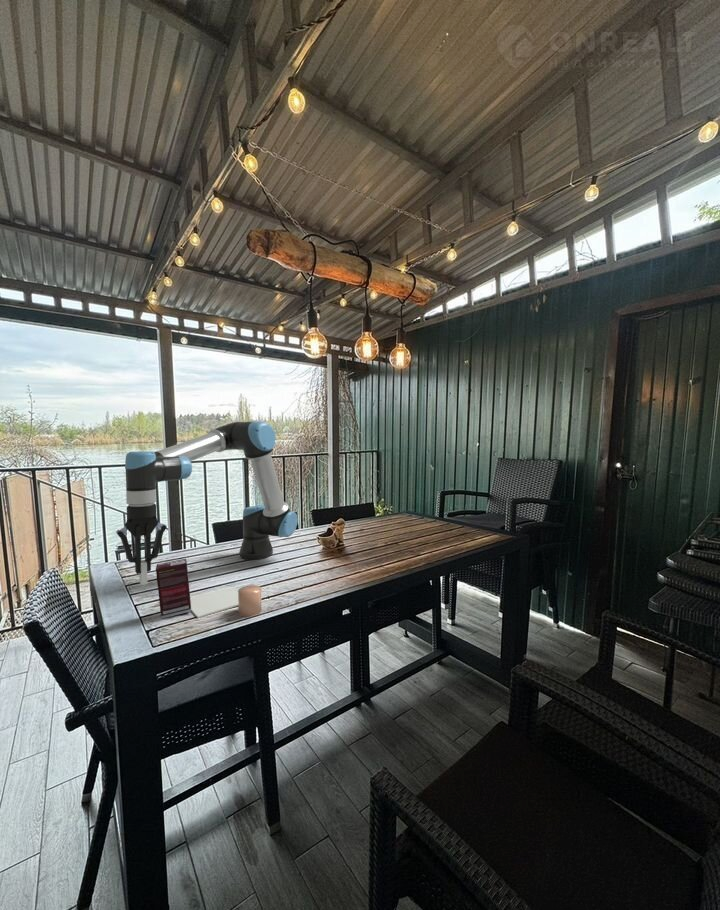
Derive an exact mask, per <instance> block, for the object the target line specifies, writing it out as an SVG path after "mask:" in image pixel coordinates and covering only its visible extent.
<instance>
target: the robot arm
mask: <svg viewBox="0 0 720 910" xmlns="http://www.w3.org/2000/svg"><path fill="white" fill-rule="evenodd" d="M276 440H277V435H276V432H275V430H274V428H273V426H271V425H270V424H269V423H267V422H265V421H259V420H258V421H257V420H254V421H235V422H230V423H227V424H224V425H221V426H218V427H216V428H212V429H210V430H209V431H208V432H207V433H206V434H203V435H200V436H197V437H194V438H191V439H188V440H185V441H183V442H181V443H177V444H174V445H172V446H167V447H165V448H162V449H159V450H156V451H151V450H150V451H129V452H128V453H127V454H125V464H124V465H125V466H124V469H125V491H126V492H125V493H126V495H125V496H126V497H125V498H126V503H125V504H127V506H126V522H125V524H124V527H121V529H117V530H116V531H115V533H116V535H117V537H119V538H120V540H121V541H120V542H121V544H122V546H123V549H124V552H125V556H126V558H127V561H128V562H129V563H134V566H135V567H134V570H135V571H134V572H135V573H136V574H137V575H139V584H140V585H141V586H144V585H148V572H151V570H152V560H153V559H156V558H158V555H159V552H160V548H161V543H162V540H163V535H164V532H166V530H167V525H166V524H164V523H161V522H159V519H158V518H157V504H156V502H157V483H160V482H171V481H181V480H185V479H188V478H190V477H191V475H192V471H193V464H192V462H193V461H195V460H197V459H200V458H203V457H204V456H207V455H210V454H213V453H215V452H216V453H222V452H224V451H232V450H234V451H235V450H237V451H243V454H244V457H245V459H247V460H249V461H250V464H251V467H252V470H253V473H254V477H255V481H256V483H257V487H258V490H259V494H260V496H261V500H262V502H263V504H258V505H252V506H248V507H245V508H244V509H243V511H242V534H243V535H242V536H243V537H242V541H241V545H240V549H239V558H241V559H242V560H246V561H247V560H248V561H249V560H251V561H254V560H262V559H267V558H270V557H272V556H273V553H274V549H273V546H272V543H271V542H272V541H271V540H270V536H272V537H279V538H289V537H291V536H292V535H293V534H294V533H295V531H296V529H297V526H298V521H299V520H298V515H297V513H296V512H295V511H292V510H291V509H290V506H289V504H288V502H285V501H284V497H283V494H282V490H281V486H280V483H279V478H278V476H277V472H276V468H275V464H274V461H273V458H272V453H273V451H274V447H275V445H276ZM155 529H156V533H155V537H154V542H153V546H152V543H151V542H152V541H151V540H152V539H151V538H152V534H153V532H154V530H155ZM127 531H128V532H129V533H130V534H132V535H133V540H134V541H133V543H134V544H133V545H134V556H133V552H132V550H131V546H130V544H129V541H128V537H127V535H128V532H127ZM142 537H143V542H144V544H143V545H144V547H143V549H144V550H143V551H144V559H142V542H141V541H142Z"/></svg>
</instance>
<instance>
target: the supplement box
mask: <svg viewBox="0 0 720 910" xmlns="http://www.w3.org/2000/svg"><path fill="white" fill-rule="evenodd" d="M187 563H188V561H187V558H182V559H175V560H171V561H166V562H161V563H157V564H156V566H155V575H156V583H157V591H158V594H157V595H158V600H159V610H160V611H159V612H160V618H161V619H166V618H170V617H175V616H178V615H181V614H185V613H186V614H187V613H190V612H192V611H191V600H190V597H191V593H190V592H191V591H190V580H189V571H188V564H187Z"/></svg>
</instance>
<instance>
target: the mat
mask: <svg viewBox="0 0 720 910" xmlns="http://www.w3.org/2000/svg"><path fill="white" fill-rule="evenodd" d="M190 600H191V612H192V613H193V615H194V616H195V617H196V618H197V619H200V618H204V617H207V616H210V615H212V614H216V613H219V612H223V611H225V610H229V609H232V608H236V607H238V589H236V588H235V587H233V586H232V585H231V586H226V587H223V588H218V589H216V590H213V591H208V592H203V593H200V594H197V595H193V596H190Z"/></svg>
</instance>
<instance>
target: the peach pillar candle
mask: <svg viewBox="0 0 720 910" xmlns="http://www.w3.org/2000/svg"><path fill="white" fill-rule="evenodd" d="M237 591H238V606H237V607H238V608H237V609H238V616H239V615H240V616H242V617H254V616H256V615H258V614H260V613H261V612H262V586H260V585H255V584H251V585H245V586H242V587H240V588H238V589H237Z"/></svg>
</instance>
